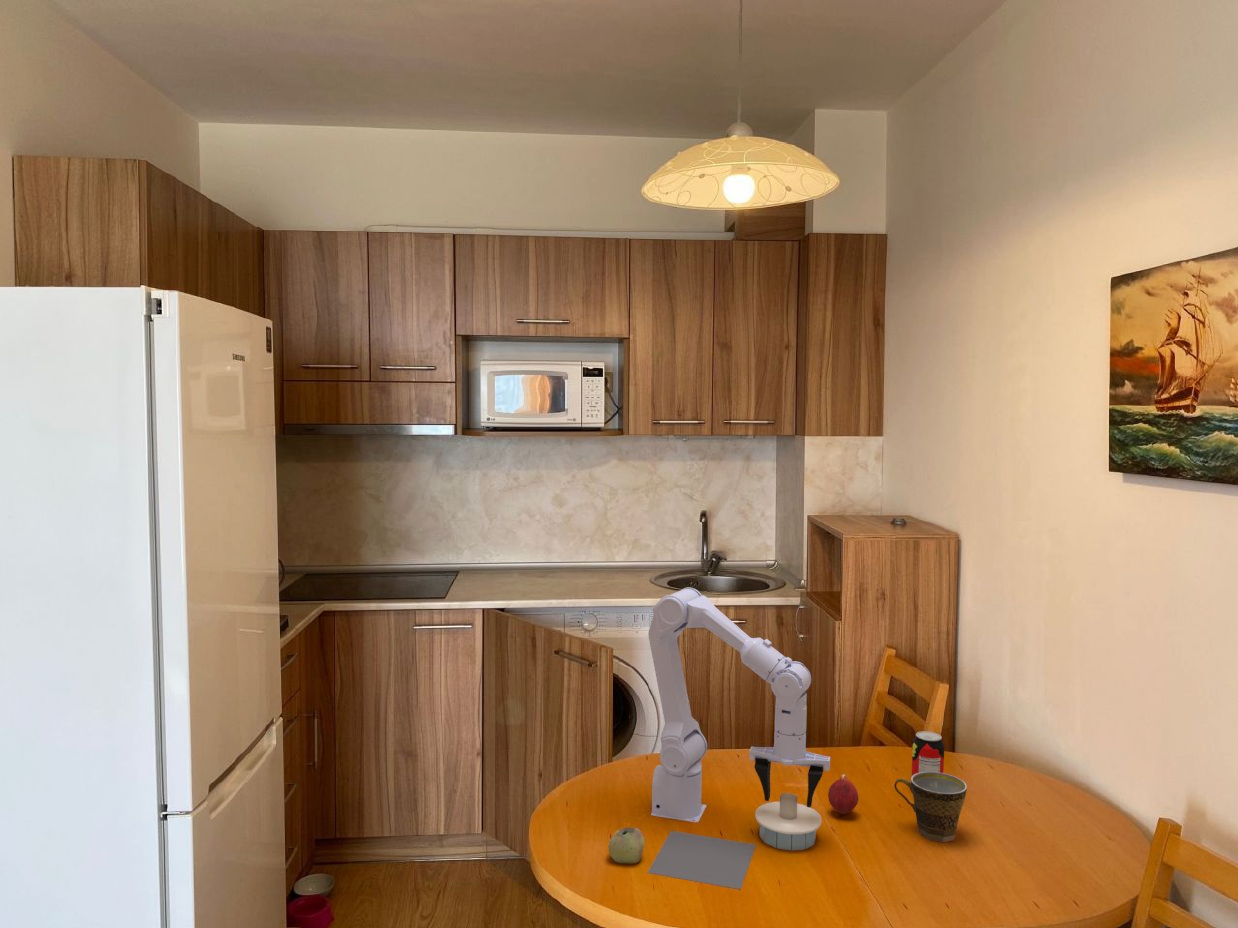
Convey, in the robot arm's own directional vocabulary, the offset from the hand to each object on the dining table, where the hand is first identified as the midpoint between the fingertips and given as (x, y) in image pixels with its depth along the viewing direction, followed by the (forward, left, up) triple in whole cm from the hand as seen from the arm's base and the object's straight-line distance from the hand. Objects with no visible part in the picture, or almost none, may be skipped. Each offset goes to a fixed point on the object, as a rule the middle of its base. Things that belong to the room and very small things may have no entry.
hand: (788, 801), depth 166 cm
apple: (-25, -17, -7) cm, 31 cm away
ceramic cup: (+25, +12, -7) cm, 29 cm away
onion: (+9, +14, -7) cm, 18 cm away
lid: (0, 0, -3) cm, 3 cm away
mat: (-13, -13, -7) cm, 20 cm away
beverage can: (+25, +31, -7) cm, 41 cm away
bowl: (0, 0, -7) cm, 7 cm away
